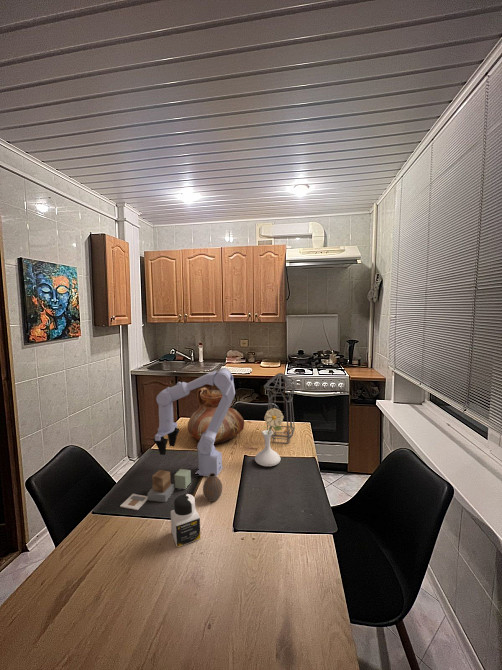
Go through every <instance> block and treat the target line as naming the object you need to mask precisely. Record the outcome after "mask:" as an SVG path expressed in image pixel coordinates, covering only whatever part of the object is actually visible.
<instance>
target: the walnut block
mask: <svg viewBox="0 0 502 670" xmlns="http://www.w3.org/2000/svg"><path fill="white" fill-rule="evenodd" d="M151 477H152V479H151V480H152V481H151V482H152V487H153V490H154V491H158V492H162V493H164V492H165V491H166V490H167V489H168V488H169V487H170V486H171V484H172V483H171V471H168V470H163V469H159V470H158V471H156V472H155V473H154V474H152V475H151Z"/></svg>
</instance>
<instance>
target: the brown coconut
mask: <svg viewBox="0 0 502 670" xmlns="http://www.w3.org/2000/svg"><path fill="white" fill-rule="evenodd" d="M202 485H203V486H202V494H203V496H204V498H205V499H206V500H207V501H209V502H216V501H217V500H218V499H220V497H221V495H222V492H223V484H222V481H221V479H220V478H219V477H218V476H216V474H215V473H211V474H209V476H207V478H206V479H205V480H204V481H203V484H202Z"/></svg>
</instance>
